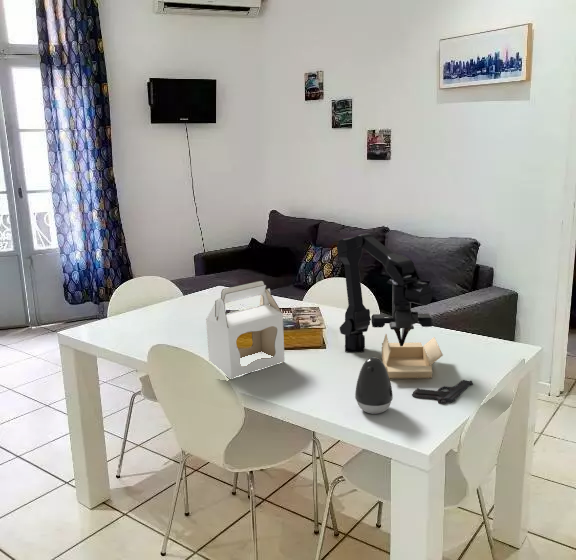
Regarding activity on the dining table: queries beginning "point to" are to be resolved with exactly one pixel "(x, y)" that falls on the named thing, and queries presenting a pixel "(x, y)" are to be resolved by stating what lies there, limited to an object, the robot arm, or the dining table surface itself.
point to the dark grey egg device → (373, 387)
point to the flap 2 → (433, 350)
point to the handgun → (443, 392)
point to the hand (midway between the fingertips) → (401, 346)
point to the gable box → (245, 330)
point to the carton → (408, 362)
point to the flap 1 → (386, 348)
